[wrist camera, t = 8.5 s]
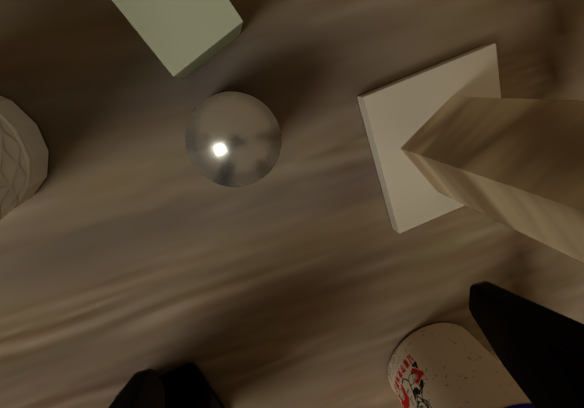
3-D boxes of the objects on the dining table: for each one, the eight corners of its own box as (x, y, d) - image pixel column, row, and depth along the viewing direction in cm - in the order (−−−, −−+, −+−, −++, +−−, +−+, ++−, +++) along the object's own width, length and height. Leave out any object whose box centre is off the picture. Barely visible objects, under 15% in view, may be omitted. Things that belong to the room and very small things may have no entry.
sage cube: (239, 35, 18) (243, 21, 14) (184, 79, 18) (173, 76, 15) (190, -37, 17) (180, -73, 13) (130, 12, 17) (103, -10, 13)
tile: (499, 182, 25) (509, 185, 24) (392, 228, 24) (399, 233, 23) (483, 45, 21) (495, 43, 20) (356, 96, 20) (363, 97, 19)
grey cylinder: (279, 148, 21) (294, 166, 16) (214, 175, 20) (211, 200, 16) (252, 79, 19) (260, 76, 14) (182, 107, 19) (167, 113, 14)
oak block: (437, 191, 23) (676, 308, 11) (400, 148, 21) (632, 228, 9) (485, 144, 22) (794, 210, 10) (451, 96, 20) (771, 106, 8)
